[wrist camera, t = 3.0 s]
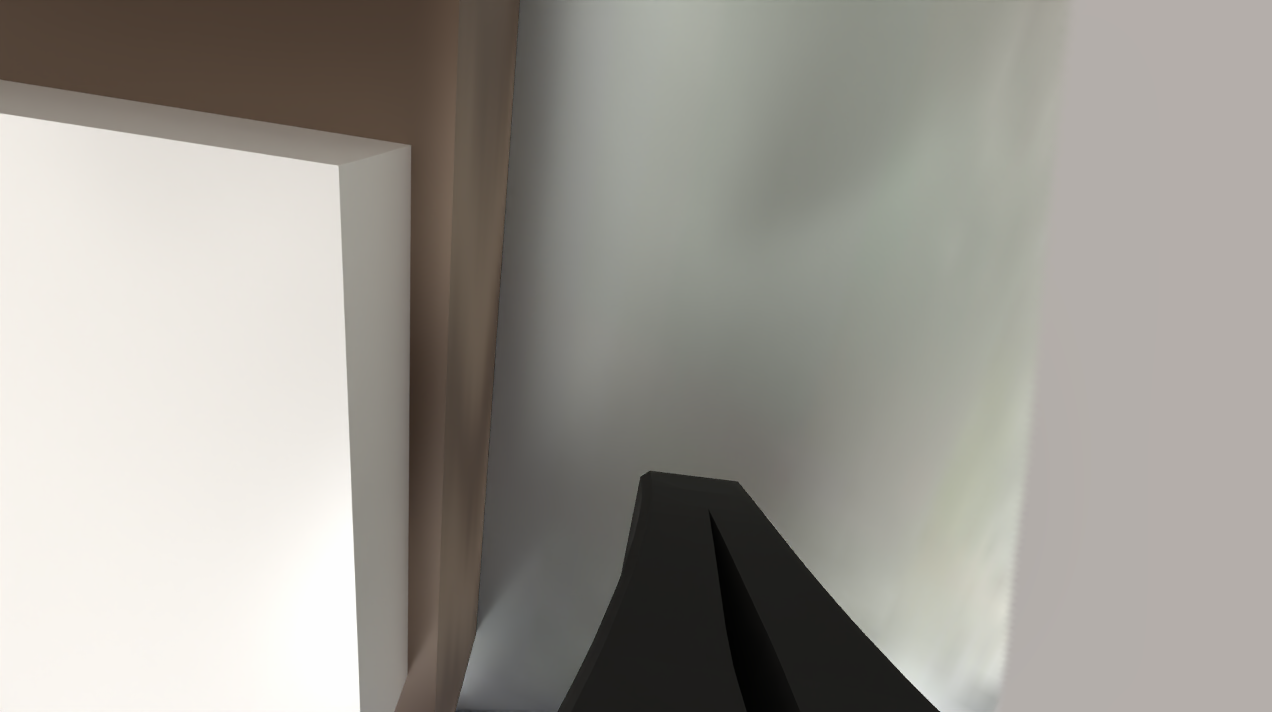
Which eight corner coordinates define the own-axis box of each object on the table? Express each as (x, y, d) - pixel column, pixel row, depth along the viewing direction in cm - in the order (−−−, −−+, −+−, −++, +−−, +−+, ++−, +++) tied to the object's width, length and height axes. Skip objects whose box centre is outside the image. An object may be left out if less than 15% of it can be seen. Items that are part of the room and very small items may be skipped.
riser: (475, 633, 16) (431, 798, 12) (68, 594, 15) (-111, 758, 11) (527, -108, 9) (466, -231, 6) (-179, -246, 9) (-773, -492, 5)
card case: (407, 675, 11) (362, 796, 9) (45, 643, 10) (-79, 763, 8) (411, 145, 7) (339, 166, 5) (-148, 56, 7) (-439, 44, 5)
